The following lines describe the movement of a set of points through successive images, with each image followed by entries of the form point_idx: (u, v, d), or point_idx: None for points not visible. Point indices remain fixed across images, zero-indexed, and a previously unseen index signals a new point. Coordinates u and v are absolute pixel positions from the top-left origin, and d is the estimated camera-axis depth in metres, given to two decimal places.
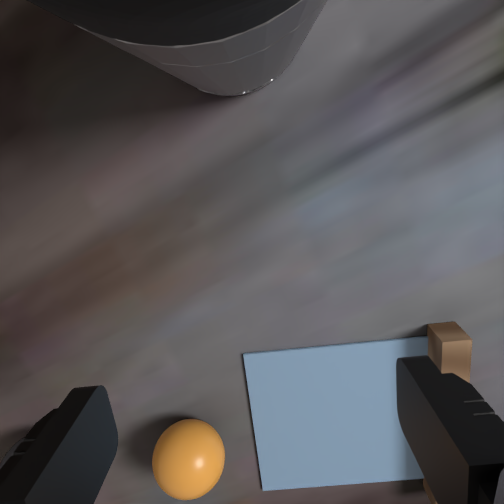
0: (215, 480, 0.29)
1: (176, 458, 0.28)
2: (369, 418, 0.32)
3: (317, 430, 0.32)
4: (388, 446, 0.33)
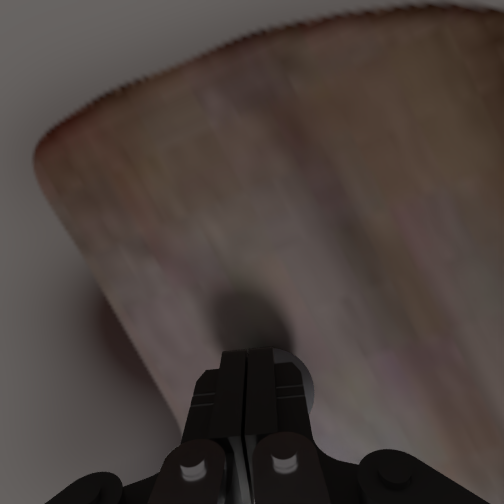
0: None
1: None
2: None
3: None
4: None
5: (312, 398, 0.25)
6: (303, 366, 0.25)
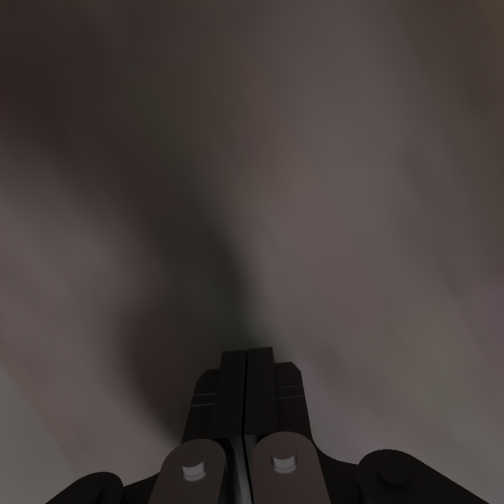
0: None
1: None
2: None
3: None
4: None
5: None
6: None
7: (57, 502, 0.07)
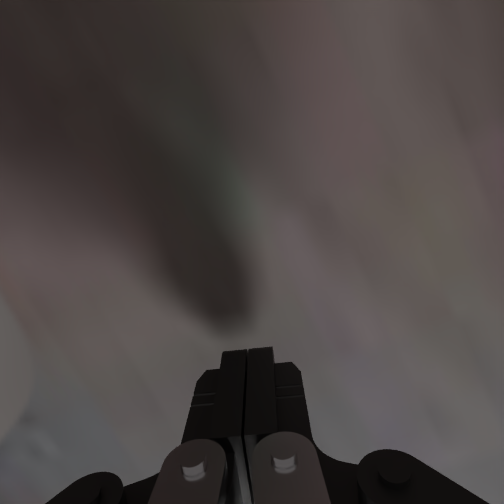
0: None
1: None
2: None
3: None
4: None
5: None
6: None
7: (57, 502, 0.07)
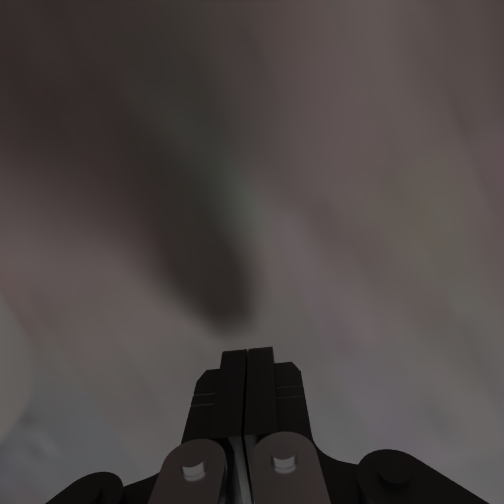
0: None
1: None
2: None
3: None
4: None
5: None
6: None
7: (57, 502, 0.07)
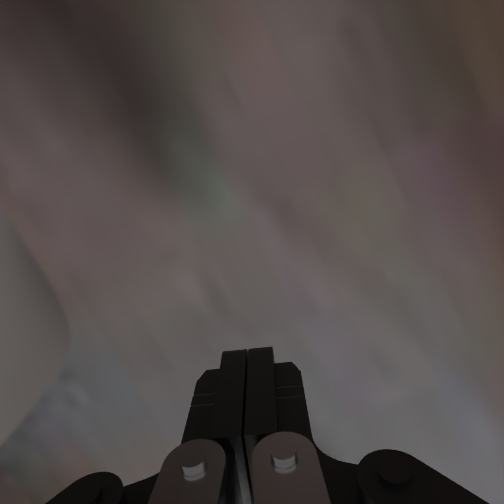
0: None
1: None
2: None
3: None
4: None
5: None
6: None
7: (57, 502, 0.07)
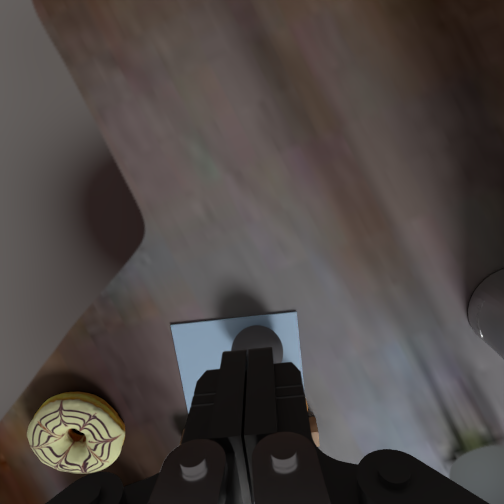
0: None
1: None
2: None
3: None
4: None
5: (271, 336, 0.40)
6: (271, 330, 0.42)
7: (57, 502, 0.07)
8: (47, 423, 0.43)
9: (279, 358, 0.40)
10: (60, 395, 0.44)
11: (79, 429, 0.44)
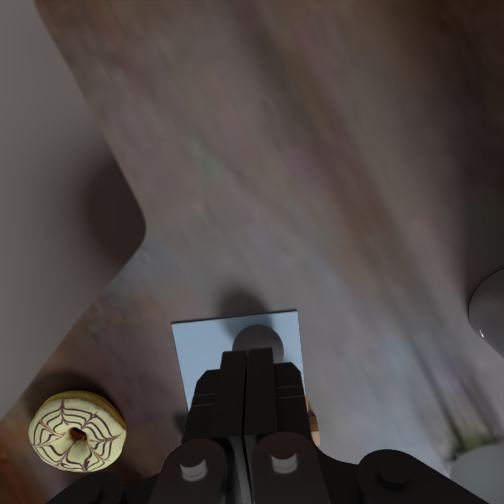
0: None
1: None
2: None
3: None
4: None
5: (272, 335, 0.40)
6: None
7: (57, 502, 0.07)
8: (49, 422, 0.43)
9: (279, 357, 0.40)
10: (61, 394, 0.45)
11: (80, 428, 0.44)
